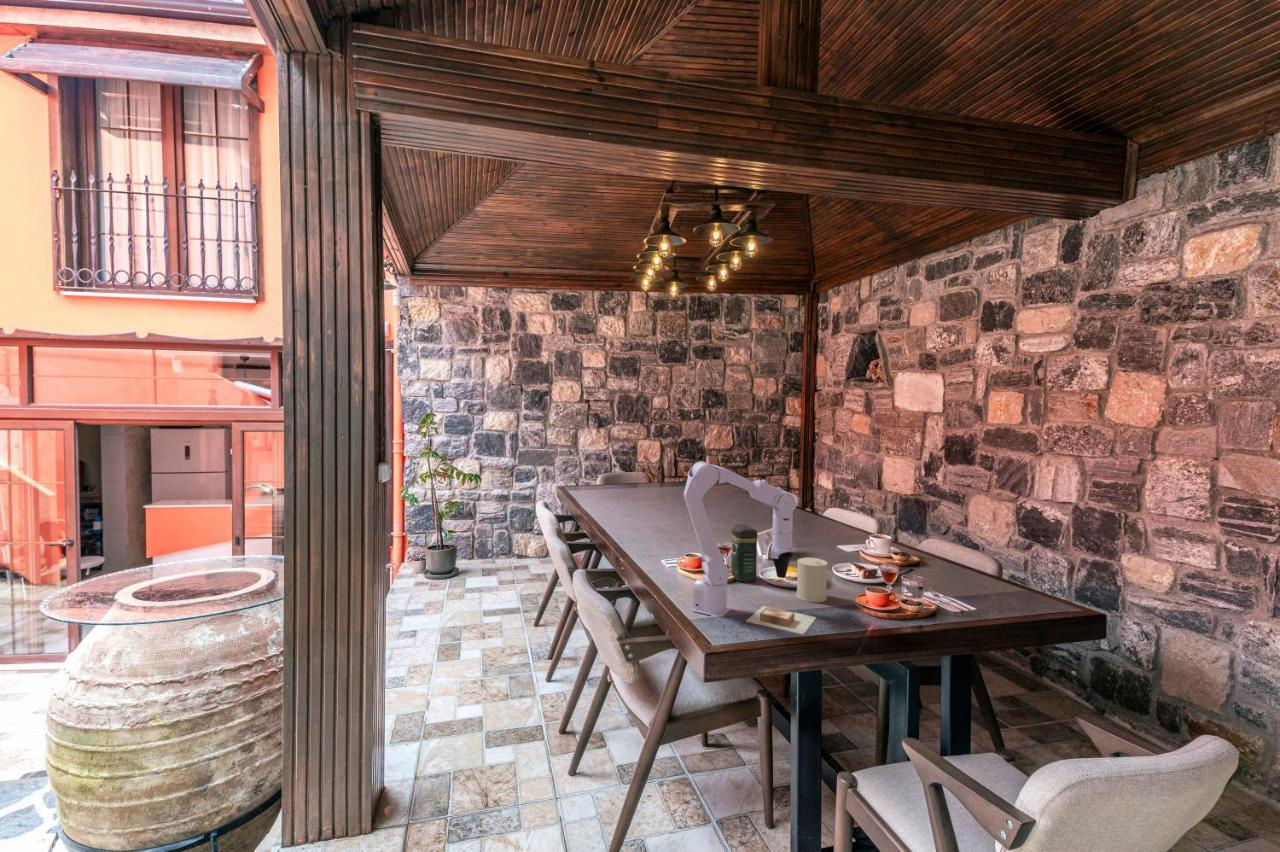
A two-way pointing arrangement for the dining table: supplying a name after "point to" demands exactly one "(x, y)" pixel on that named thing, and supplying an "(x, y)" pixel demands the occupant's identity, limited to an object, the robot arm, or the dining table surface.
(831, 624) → the dining table surface
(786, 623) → the walnut slab
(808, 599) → the can
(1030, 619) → the dining table surface
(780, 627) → the mat
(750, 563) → the coffee jar
